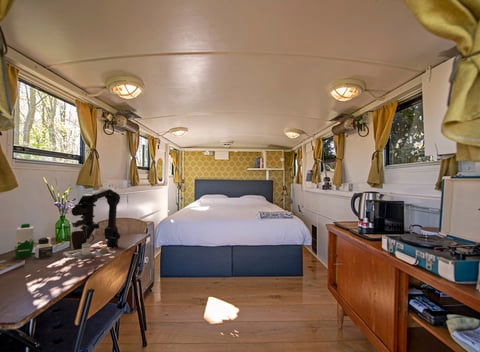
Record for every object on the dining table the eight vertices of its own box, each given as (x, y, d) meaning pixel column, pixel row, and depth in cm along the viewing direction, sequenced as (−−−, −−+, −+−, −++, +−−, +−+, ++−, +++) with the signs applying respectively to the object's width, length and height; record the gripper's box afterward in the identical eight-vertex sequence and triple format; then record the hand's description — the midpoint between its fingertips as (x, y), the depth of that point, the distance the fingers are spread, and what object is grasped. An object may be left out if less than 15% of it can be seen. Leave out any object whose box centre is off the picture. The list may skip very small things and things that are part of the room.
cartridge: (88, 254, 152) (88, 242, 153) (91, 256, 150) (92, 243, 150) (80, 256, 148) (80, 243, 149) (83, 258, 146) (83, 244, 146)
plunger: (105, 250, 161) (105, 246, 161) (108, 251, 158) (108, 246, 159) (100, 251, 158) (100, 247, 158) (102, 252, 155) (102, 248, 156)
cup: (72, 247, 172) (73, 231, 173) (94, 245, 178) (95, 229, 178) (68, 251, 163) (69, 233, 164) (92, 249, 169) (92, 232, 169)
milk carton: (33, 253, 157) (34, 223, 158) (33, 256, 151) (34, 224, 151) (14, 255, 152) (16, 224, 152) (14, 259, 145) (15, 226, 146)
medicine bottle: (38, 259, 145) (39, 239, 145) (35, 257, 149) (36, 238, 150) (52, 256, 151) (53, 237, 151) (49, 254, 155) (50, 236, 155)
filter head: (105, 251, 163) (105, 247, 163) (112, 254, 158) (112, 249, 158) (75, 258, 148) (75, 253, 149) (82, 261, 143) (82, 256, 143)
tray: (80, 252, 160) (80, 249, 160) (87, 255, 155) (87, 251, 155) (63, 256, 152) (63, 252, 152) (69, 259, 146) (69, 255, 146)
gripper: (67, 213, 149) (66, 238, 148) (80, 216, 138) (78, 243, 137) (86, 212, 158) (85, 236, 157) (100, 214, 147) (99, 240, 147)
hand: (86, 238), depth 149 cm, fingers closed
